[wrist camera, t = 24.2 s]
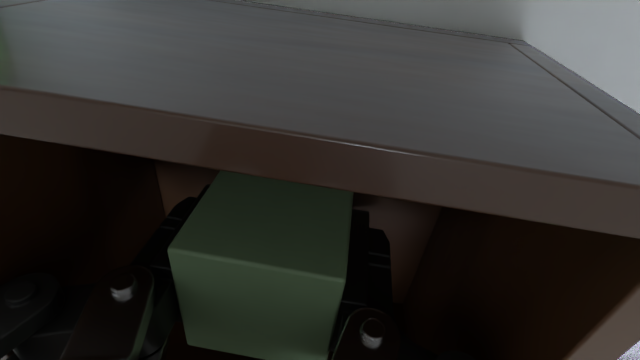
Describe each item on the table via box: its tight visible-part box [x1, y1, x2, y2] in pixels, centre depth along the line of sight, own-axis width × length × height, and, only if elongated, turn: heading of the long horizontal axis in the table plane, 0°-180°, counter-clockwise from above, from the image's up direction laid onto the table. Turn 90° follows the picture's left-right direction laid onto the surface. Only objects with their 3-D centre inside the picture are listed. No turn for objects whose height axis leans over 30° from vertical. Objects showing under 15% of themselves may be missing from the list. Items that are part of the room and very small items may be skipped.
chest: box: [0, 0, 640, 360], centre depth 10 cm, size 12×12×8 cm
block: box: [167, 170, 354, 360], centre depth 10 cm, size 4×4×4 cm
